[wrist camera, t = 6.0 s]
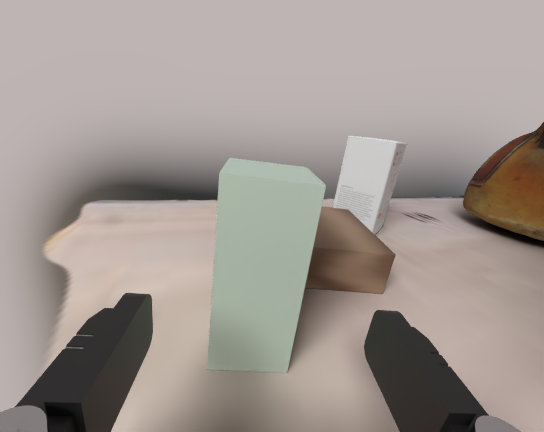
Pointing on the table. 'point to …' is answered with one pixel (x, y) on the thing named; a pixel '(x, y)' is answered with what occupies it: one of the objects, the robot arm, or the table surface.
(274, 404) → the table surface
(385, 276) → the walnut base block
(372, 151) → the small box
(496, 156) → the ceramic pitcher
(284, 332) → the sage block
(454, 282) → the table surface
